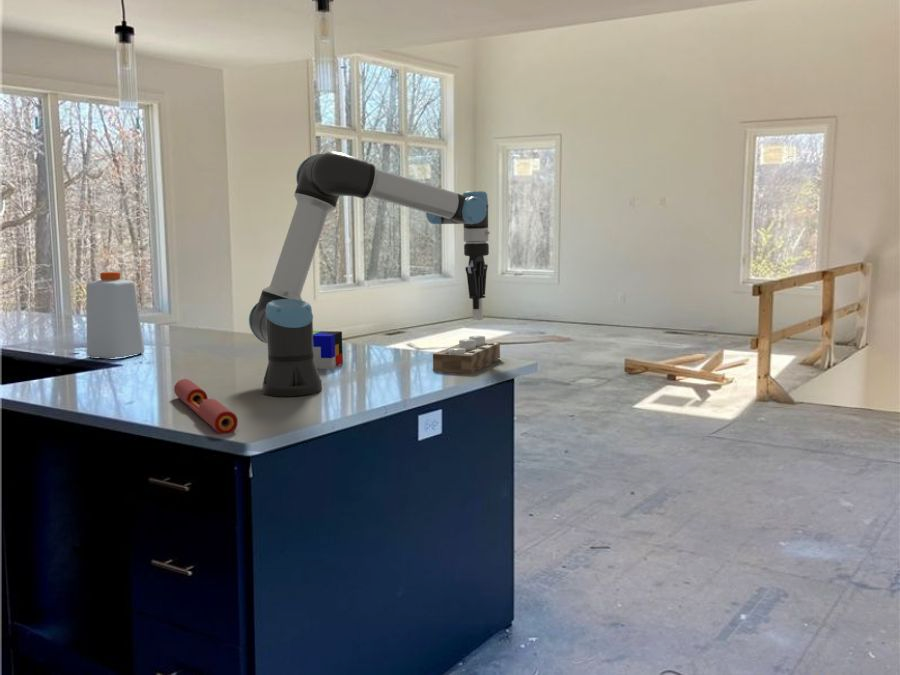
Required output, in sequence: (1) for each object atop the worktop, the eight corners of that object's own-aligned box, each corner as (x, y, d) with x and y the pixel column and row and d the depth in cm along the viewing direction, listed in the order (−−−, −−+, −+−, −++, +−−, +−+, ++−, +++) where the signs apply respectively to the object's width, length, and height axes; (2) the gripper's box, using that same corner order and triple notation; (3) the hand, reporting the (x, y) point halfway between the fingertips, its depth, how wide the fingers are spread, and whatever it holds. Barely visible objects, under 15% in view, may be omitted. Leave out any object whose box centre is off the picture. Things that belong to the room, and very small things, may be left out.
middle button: (472, 356, 244) (472, 342, 243) (456, 355, 246) (456, 341, 245) (478, 353, 248) (478, 339, 248) (463, 352, 250) (462, 338, 249)
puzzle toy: (331, 369, 244) (330, 336, 243) (300, 368, 246) (299, 335, 245) (342, 363, 254) (341, 331, 253) (312, 362, 256) (311, 331, 255)
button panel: (471, 373, 234) (471, 353, 233) (433, 370, 239) (432, 351, 238) (499, 359, 256) (499, 341, 255) (464, 357, 261) (464, 340, 260)
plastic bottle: (81, 358, 269) (74, 273, 265) (114, 351, 283) (108, 270, 279) (117, 360, 264) (111, 274, 260) (150, 353, 278) (144, 271, 274)
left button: (461, 365, 237) (461, 350, 236) (446, 364, 238) (445, 350, 238) (468, 362, 241) (468, 348, 240) (452, 361, 243) (452, 347, 242)
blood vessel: (174, 399, 207) (173, 380, 206) (194, 397, 209) (193, 377, 208) (214, 436, 171) (213, 413, 170) (238, 433, 173) (237, 409, 172)
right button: (481, 352, 251) (481, 338, 250) (466, 351, 253) (466, 337, 252) (487, 349, 255) (487, 336, 255) (472, 348, 257) (472, 335, 257)
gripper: (480, 243, 242) (481, 322, 245) (495, 241, 254) (496, 317, 257) (456, 243, 245) (458, 321, 248) (472, 241, 257) (474, 316, 260)
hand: (477, 319), depth 253 cm, fingers closed
